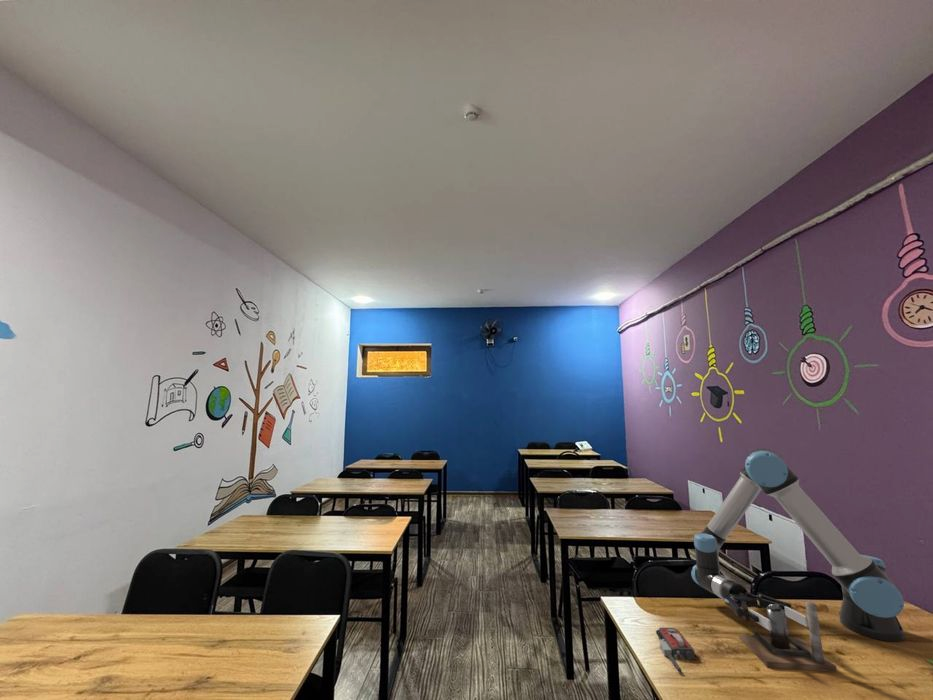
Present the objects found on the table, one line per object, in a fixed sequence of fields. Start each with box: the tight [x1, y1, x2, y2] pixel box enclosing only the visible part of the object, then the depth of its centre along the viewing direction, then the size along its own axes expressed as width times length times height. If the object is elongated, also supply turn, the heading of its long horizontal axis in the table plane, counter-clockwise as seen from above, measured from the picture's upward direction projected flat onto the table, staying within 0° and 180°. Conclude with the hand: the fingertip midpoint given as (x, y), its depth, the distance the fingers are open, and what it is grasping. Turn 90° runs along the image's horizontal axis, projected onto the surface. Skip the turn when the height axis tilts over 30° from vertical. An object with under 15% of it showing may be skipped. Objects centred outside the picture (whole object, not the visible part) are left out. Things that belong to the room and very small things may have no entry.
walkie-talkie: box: [655, 627, 695, 673], centre depth 117 cm, size 9×4×20 cm
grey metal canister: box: [765, 604, 790, 649], centre depth 119 cm, size 5×5×12 cm
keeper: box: [738, 601, 838, 673], centre depth 117 cm, size 19×14×16 cm
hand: (788, 623), depth 115 cm, fingers open, 12 cm apart
